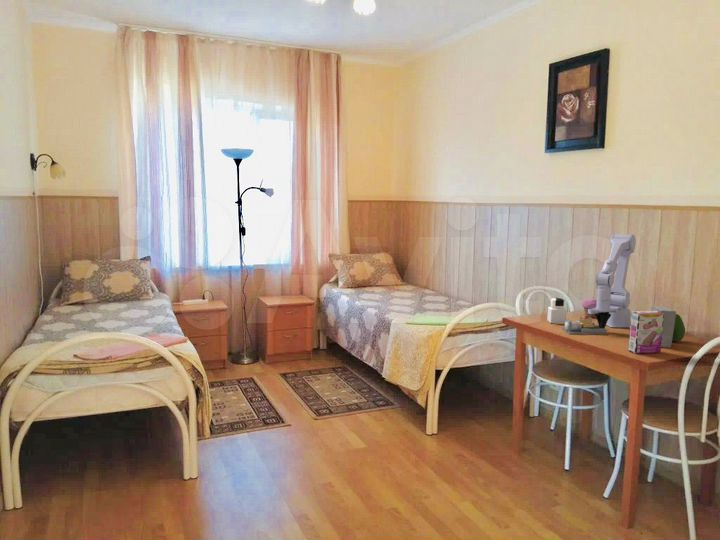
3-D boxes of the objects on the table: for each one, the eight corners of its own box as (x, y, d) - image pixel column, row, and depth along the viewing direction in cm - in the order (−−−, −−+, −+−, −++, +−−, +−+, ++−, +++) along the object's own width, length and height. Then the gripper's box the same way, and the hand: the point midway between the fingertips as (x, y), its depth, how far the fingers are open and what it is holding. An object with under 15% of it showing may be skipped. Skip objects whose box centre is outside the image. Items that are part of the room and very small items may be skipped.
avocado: (672, 338, 239) (674, 311, 237) (688, 342, 232) (690, 315, 230) (658, 339, 236) (660, 312, 235) (674, 344, 229) (676, 316, 227)
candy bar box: (635, 354, 214) (638, 313, 212) (627, 350, 219) (630, 310, 217) (661, 353, 216) (664, 312, 214) (653, 349, 221) (656, 310, 218)
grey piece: (597, 329, 255) (598, 318, 254) (607, 334, 245) (607, 323, 244) (561, 329, 255) (562, 318, 254) (569, 334, 245) (570, 323, 245)
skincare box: (646, 342, 232) (649, 305, 230) (663, 342, 232) (666, 305, 230) (656, 347, 224) (659, 309, 222) (674, 347, 224) (677, 309, 222)
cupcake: (600, 319, 276) (602, 299, 275) (582, 318, 278) (583, 299, 277) (597, 315, 285) (598, 296, 284) (579, 314, 287) (580, 296, 286)
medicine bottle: (561, 320, 272) (563, 297, 271) (565, 324, 265) (567, 300, 264) (547, 320, 273) (548, 297, 271) (550, 323, 266) (551, 299, 264)
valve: (591, 329, 252) (592, 314, 251) (594, 331, 248) (595, 316, 247) (576, 329, 252) (577, 314, 251) (579, 331, 248) (580, 316, 247)
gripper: (611, 297, 254) (609, 325, 256) (584, 298, 250) (582, 327, 252) (621, 299, 247) (619, 329, 249) (594, 301, 243) (592, 331, 245)
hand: (601, 328), depth 250 cm, fingers closed
